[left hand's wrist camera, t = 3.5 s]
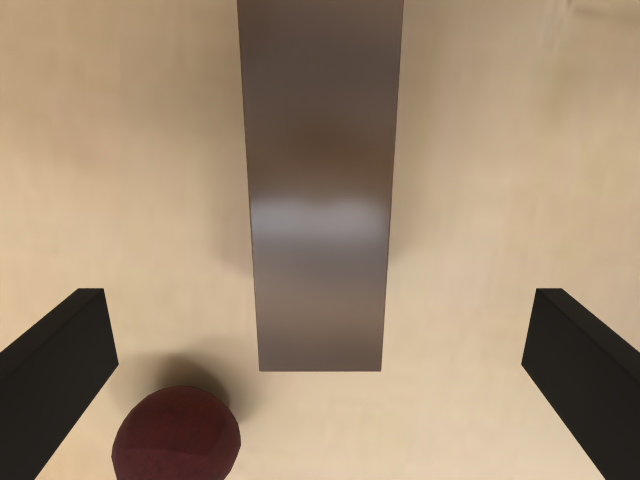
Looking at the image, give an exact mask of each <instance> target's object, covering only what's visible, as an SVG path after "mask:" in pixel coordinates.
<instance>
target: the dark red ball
mask: <svg viewBox="0 0 640 480" xmlns="http://www.w3.org/2000/svg"><path fill="white" fill-rule="evenodd" d="M240 446H241V437H240V431H239V427H238V423H237V421H236V419H235V417H234V416H233V414H232V413H231V411H230V410H229V409H228V407H227V406H226V405H225V404H223V403H222V402H221V401H220V400H218V399H217V398H216V397H214V396H213V395H212V394H210V393H207V392H205V391H202V390H200V389H197V388H195V387H185V386H175V387H170V388H164V389H162V390H159V391H157V392H155V393H153V394H150V395H148V396H147V397H146V398H144V399H143V400H142V401H141V402H140V403H138V404H137V405H136V406H135V407H134V408H133V409H132V410H131V411H130V413H129V414H128V415H127V417H126V418H125V419H124V421H123V423H122V425H121V426H120V428H119V430H118V432H117V435H116V438H115V441H114V444H113V448H112V456H111V458H112V462H113V466H114V470H115V474H116V477H117V480H224V479H225V478H226V476H227V475H228V474H229V472H230V471H231V469H232V467H233V464H234V462H235V460H236V457H237V455H238V452H239V449H240Z"/></svg>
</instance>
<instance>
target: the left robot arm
mask: <svg viewBox="0 0 640 480" xmlns="http://www.w3.org/2000/svg"><path fill="white" fill-rule="evenodd" d="M118 365H119V363H118V358H117V353H116V348H115V343H114V338H113V333H112V328H111V323H110V318H109V313H108V308H107V303H106V298H105V293H104V288H78V289H77V290H76V291H75V292H73V293H72V294H71V295H70V296H68V297H67V298H66V299H65V300H64V301H62V302H61V303H60V304H59V305H58V306H56V307H55V308H54V309H53V310H51V311H50V312H49V313H48V314H47V315H45V316H44V317H43V318H42V319H41V320H39V321H38V322H37V323H36V324H34V325H33V326H32V327H31V328H30V329H28V330H27V331H26V332H25V333H24V334H22V335H21V336H20V337H19V338H17V339H16V340H15V341H14V342H13V343H11V344H10V345H9V346H8V347H7V348H5V349H4V350H3V351H2V352H0V480H35V478H36V477H37V475H38V474H39V473H40V471H41V470H42V469H43V467H44V466H45V465H46V463H47V462H48V460H49V459H50V458H51V456H52V455H53V454H54V452H55V451H56V450H57V448H58V447H59V445H60V444H61V443H62V441H63V440H64V439H65V437H66V436H67V434H68V433H69V432H70V430H71V429H72V428H73V426H74V425H75V424H76V422H77V421H78V419H79V418H80V417H81V415H82V414H83V413H84V411H85V410H86V409H87V407H88V406H89V404H90V403H91V402H92V400H93V399H94V398H95V396H96V395H97V393H98V392H99V391H100V389H101V388H102V387H103V385H104V384H105V383H106V381H107V380H108V378H109V377H110V376H111V374H112V373H113V372H114V370H115V369H116V368H117V366H118ZM521 365H522V366H523V368H524V369H525V370H526V372H527V373H528V374H529V376H530V377H531V378H532V380H533V381H534V383H535V384H536V385H537V387H538V388H539V389H540V391H541V392H542V393H543V395H544V396H545V398H546V399H547V400H548V402H549V403H550V404H551V406H552V407H553V409H554V410H555V411H556V413H557V414H558V415H559V417H560V418H561V419H562V421H563V422H564V424H565V425H566V426H567V428H568V429H569V430H570V432H571V433H572V434H573V436H574V437H575V439H576V440H577V441H578V443H579V444H580V445H581V447H582V448H583V450H584V451H585V452H586V454H587V455H588V456H589V458H590V459H591V460H592V462H593V463H594V465H595V466H596V467H597V469H598V470H599V471H600V473H601V474H602V475H603V477H604V478H605V480H640V352H638V351H637V350H636V349H635V348H633V347H632V346H631V345H630V344H629V343H627V342H626V341H625V340H624V339H623V338H621V337H620V336H619V335H618V334H616V333H615V332H614V331H613V330H612V329H610V328H609V327H608V326H607V325H606V324H604V323H603V322H602V321H601V320H599V319H598V318H597V317H596V316H595V315H593V314H592V313H591V312H590V311H589V310H587V309H586V308H585V307H584V306H582V305H581V304H580V303H579V302H578V301H576V300H575V299H574V298H573V297H572V296H570V295H569V294H568V293H567V292H565V291H564V290H563V289H562V288H536V293H535V298H534V303H533V308H532V313H531V318H530V323H529V328H528V333H527V338H526V343H525V348H524V353H523V358H522V363H521Z"/></svg>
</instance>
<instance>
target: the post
mask: <svg viewBox="0 0 640 480" xmlns="http://www.w3.org/2000/svg"><path fill="white" fill-rule="evenodd" d="M403 5H404V0H237V9H238V26H239V42H240V59H241V75H242V92H243V108H244V125H245V142H246V158H247V175H248V191H249V208H250V224H251V241H252V257H253V274H254V290H255V307H256V323H257V340H258V356H259V371H381V365H382V348H383V332H384V316H385V299H386V283H387V266H388V250H389V234H390V217H391V201H392V185H393V168H394V152H395V136H396V119H397V103H398V87H399V70H400V54H401V37H402V21H403Z"/></svg>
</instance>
